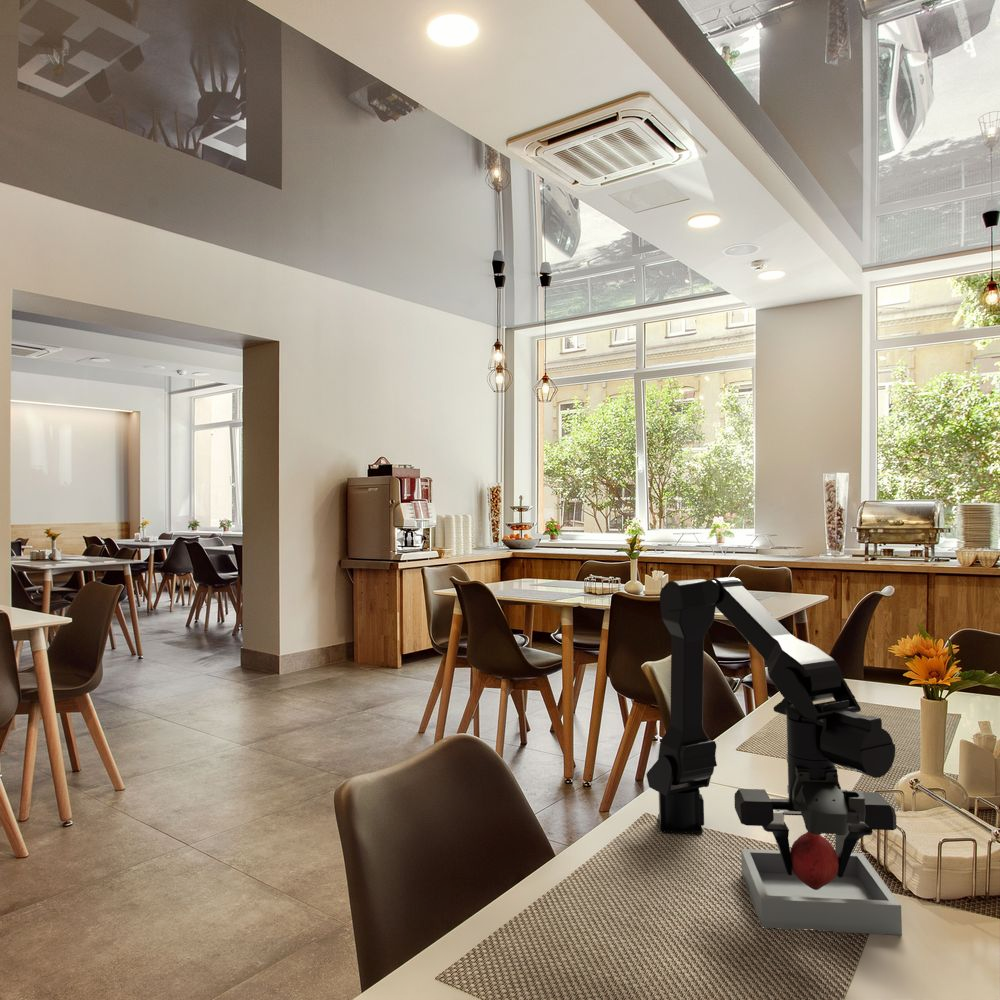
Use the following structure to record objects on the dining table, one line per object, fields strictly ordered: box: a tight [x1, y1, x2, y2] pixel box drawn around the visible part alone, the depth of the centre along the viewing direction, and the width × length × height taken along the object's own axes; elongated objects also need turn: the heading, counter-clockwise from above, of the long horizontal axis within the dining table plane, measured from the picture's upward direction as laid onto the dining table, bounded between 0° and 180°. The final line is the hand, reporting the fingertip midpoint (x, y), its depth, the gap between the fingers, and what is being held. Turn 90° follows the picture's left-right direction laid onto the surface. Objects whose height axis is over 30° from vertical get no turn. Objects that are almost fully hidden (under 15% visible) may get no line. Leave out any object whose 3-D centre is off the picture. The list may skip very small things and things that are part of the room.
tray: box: [740, 848, 903, 936], centre depth 100 cm, size 16×14×4 cm
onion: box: [790, 831, 839, 890], centre depth 100 cm, size 6×6×8 cm
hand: (814, 875), depth 100 cm, fingers closed on onion, 6 cm apart
